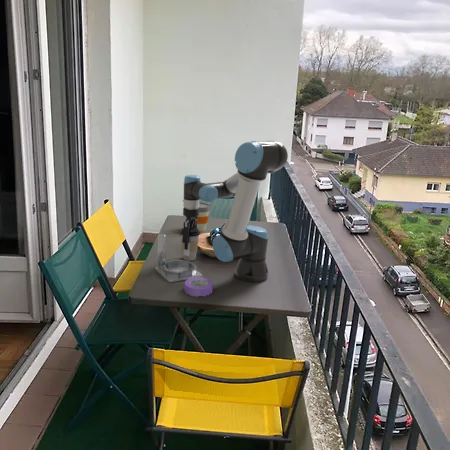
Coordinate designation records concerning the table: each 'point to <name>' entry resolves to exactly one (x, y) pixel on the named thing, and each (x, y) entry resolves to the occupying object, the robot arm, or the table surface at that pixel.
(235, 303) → the table surface
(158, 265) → the ring base with post
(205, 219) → the reusable coffee cup
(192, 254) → the coffee cup
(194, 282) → the masking tape
